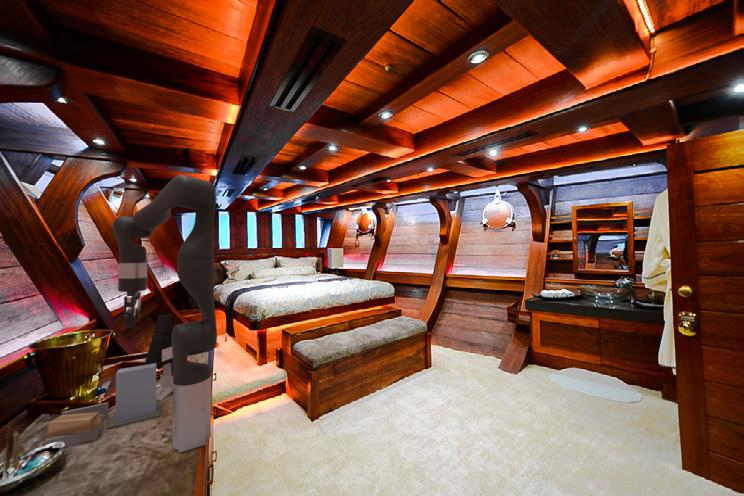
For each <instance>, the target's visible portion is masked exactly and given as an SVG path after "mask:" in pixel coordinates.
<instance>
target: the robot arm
mask: <svg viewBox="0 0 744 496" xmlns="http://www.w3.org/2000/svg"><path fill="white" fill-rule="evenodd" d="M216 193H217V192H216V189H215V185H214V184H213V183H212V182H211V181H208V180H205V179H201V178H197V177H194V176H190V175H186V174H185V175H184V174H180V175H176V176H175V177H173V178H172V179H171V180H170V181H169V182H168V183H167V184H166V185H165V186H164V187H163V188H162V190H161V191H160V192H159V193H158V194H157V195H156V196H155V197H154V199H153V200H152V201H151V202H150V203H148V204H146V205H145V206H143V207H142V208H140V209H138V210H137V211H136V212H134V213H133V216H125V215H124V216H123V215H122V216H118V217H116V218H115V219H114V220H113V223H112V227H111V228H112V233H113V235H114V238H115V240H116V243H117V246H118V247H117V248H118V251H119V255H118V258H119V265H118V271H117V272H118V275H117V276H118V278H117V279H118V280H117V283H118V284H117V290H118V291H119V292H120V293H126V295H124V297H123V316H124V317H125V328H126V329H131V328H132V329H133V328H135V326H136V324H135V323H139V321H140V311H141V307H142V306H141V305H142V301H141V300H142V296H141V294H142V293H141V292H143V291H146V290H147V289H148V267H147V248H146V247H145V246H144V245H140V244H135V243H133V242H132V239H147V238H149V237H151V236H152V235H153V234H154V232H155V230H156V229H157V228H158V227H161V226H162V225H164V224H165V223H167V222H168V220H169V219H170V218H171V213H172V209H173V208H176V207H181V208H184V209H188V210H189V209H191V210H194V214H195V215H194V217H195V218H194V224H193V227H192V229H191V231H190V232H189V234H188V236H187V237H186V239H185V240H184V241H183V242H182V244H181V246H180V247H179V250H178V253H177V264H176V265H177V278H178V280H179V282H180V283H181V285H182V286H183V288H184V289H186V291H187V292H188V294H189V295H190V296H191V297H192V298H193V300H194V301H195V303H196V305H197V306H198V308H199V311H200V317H201V320H197V321H195V320H194V321H189V322H188V321H187V322H182V323H177V324H176V325H174V327H172V331H171V332H172V354H173V391H172V448H173V449H174V450H176V451H178V453H183V452H187V451H191V450H193V449H196V448H199V447H203V446H206V444H207V442H208V441H209V440H210V439H211V436H212V368H211V366H210V365H209V364H207V363H203V362H194V361H190V360H188V359H189V358H188V357H190V356H195V355H199V354H204V353H208V352H212V351H213V350H214V349H216V346H217V341H218V328H217V319H216V318H217V317H216V308H215V307H216V306H215V256H214V255H215V253H214V228H215V227H214V226H215V225H214V224H215V214H216V203H217V196H216Z"/></svg>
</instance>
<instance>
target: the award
mask: <svg viewBox="0 0 744 496" xmlns="http://www.w3.org/2000/svg"><path fill="white" fill-rule="evenodd" d="M172 319H173V318H172V315H171V314H159V315H158V317H157V319H156V323H155V327H154V328H153V329H154V330H153V334H152V337H151V340H150V344H149V348H148V350H147V353H146V358H145V361H144V365H148V364H154V363H156V370H157V369H159V368H161V367H162V373H163V375H160V385H161V386H160V387H158V388H157V389H156V401H157V400H158V401H159V400H160V401H162V400H164V399H165V398H166V397H168V396H169V394H171V393H173V354H172V331H173V327H172V325H173V324H172Z"/></svg>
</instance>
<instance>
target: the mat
mask: <svg viewBox="0 0 744 496" xmlns="http://www.w3.org/2000/svg"><path fill="white" fill-rule="evenodd" d="M162 405H163V402H158V403H157V402H156V410H155V413H150V414H146V415H142V416H138V417H133V418H129V419H125V420H121V421H116V412H114V413H113V414H112V416H111V419H110V420H109V423H108V425H107V427H106V430H107V431H108V430H112V429H115V428H116V429H117V428H120V427H125V426H129V425H132V424H137V423H141V422H145V421H149V420H152V419H156V418H160V417H161V411H162V407H163V406H162Z"/></svg>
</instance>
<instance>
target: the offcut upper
mask: <svg viewBox="0 0 744 496" xmlns="http://www.w3.org/2000/svg"><path fill="white" fill-rule="evenodd" d="M99 424H100V412H94V413H82V414H71V415H62V414H61V415H59V416H57V417H56V418H54V419H53V420H50V421H49V422H48V423H47V436H48V437H50V436H53V435H64V434H74V433H85V432H90V431H91V430H93V429H94V428H95V427H97V426H98V425H99Z"/></svg>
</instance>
